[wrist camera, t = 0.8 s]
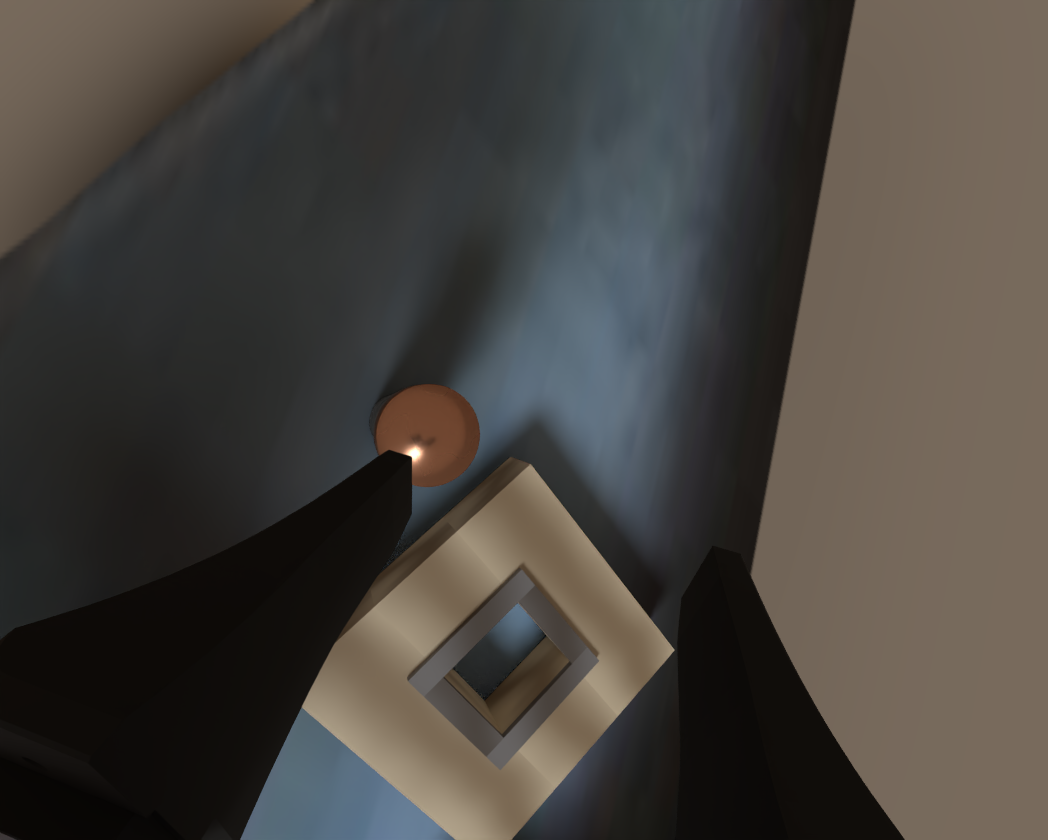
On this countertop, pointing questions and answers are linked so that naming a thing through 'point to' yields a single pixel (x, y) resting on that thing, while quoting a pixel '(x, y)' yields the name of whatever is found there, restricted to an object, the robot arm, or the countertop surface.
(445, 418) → the pin
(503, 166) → the countertop surface
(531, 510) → the block
